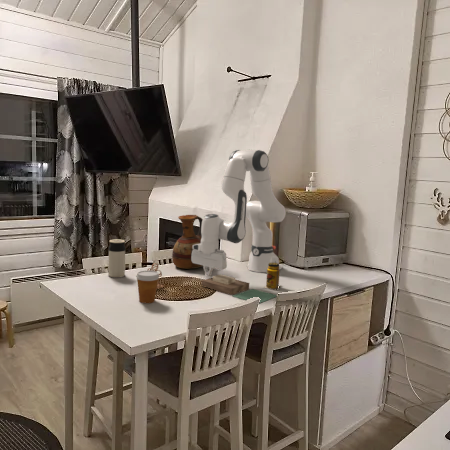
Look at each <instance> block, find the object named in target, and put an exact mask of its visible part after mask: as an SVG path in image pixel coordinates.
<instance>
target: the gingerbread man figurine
mask: <svg viewBox="0 0 450 450" xmlns="http://www.w3.org/2000/svg"><path fill="white" fill-rule="evenodd" d="M146 271H156V272H159V273H158V274H159V278H162V276H163V273H162V271H161V270H160V269H159V264H158V263H156V262H155V263H152V264H151V266H150V267H148V268H147V270H146ZM160 287H164V288H165V285H162V284H161V283H160V280H159V279H158V283H157V288H160Z"/></svg>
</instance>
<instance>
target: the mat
mask: <svg viewBox="0 0 450 450" xmlns="http://www.w3.org/2000/svg"><path fill="white" fill-rule="evenodd" d="M276 295H277V294H273V293H271V292H266V291H262V290H259V289H255V288H252V289H248V290H245V291H242V292H239V293H236V294H233V295H232V298H233V297H234V298H237V299H240V300H245V301H247V299H250V298H253V297H259V298H260V299H261V300H260V303H259V304H262V303H264V302H267V301H269V299H270V300H272V299H274V297H275V298H276ZM271 298H272V299H271ZM261 302H262V303H261Z"/></svg>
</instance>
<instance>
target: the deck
mask: <svg viewBox="0 0 450 450" xmlns="http://www.w3.org/2000/svg"><path fill="white" fill-rule="evenodd" d="M201 285H203V286H206V287H208V288H211V289H214V290H213V291H215V290H216V291H215V292H219V293H222V294H226V295H229V296H233V295H236V294H239V293H242V292H245V291H248V290H250V282H247V281H243V280H240V279H236V278H235V282H234V283H231V284H224V283H220V282H216V281H213V277H209V278H206V279H205V278H204V279H202V280H201V284H200V286H201ZM208 288H207V289H208ZM211 289H210V290H211Z"/></svg>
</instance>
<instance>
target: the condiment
mask: <svg viewBox="0 0 450 450" xmlns="http://www.w3.org/2000/svg"><path fill="white" fill-rule="evenodd" d="M279 265H280V263H279V264H278V263H269V264H268V269H267V272H266V284H265V286H264V287H263V288H264V289H268V288H269V290H273V289H274V290H276V289H277V290H276V291H280V289H281V287H283V285H280V273H281V271H280V270H281V269H280V270H279ZM279 285H280V286H279ZM278 286H279V288H280V289H278Z"/></svg>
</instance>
